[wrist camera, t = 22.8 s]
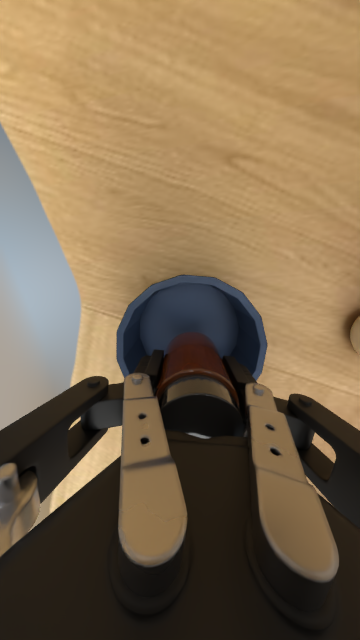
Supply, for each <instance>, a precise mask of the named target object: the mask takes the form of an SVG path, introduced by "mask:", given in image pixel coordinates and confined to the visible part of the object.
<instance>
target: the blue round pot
mask: <svg viewBox="0 0 360 640" xmlns="http://www.w3.org/2000/svg"><path fill="white" fill-rule="evenodd" d="M185 332H198V333H201V334H204V335H206V336H207V337H209V338H210V339H211V340H212V341H213V342H214V344H215V346H216V348H217V350H218V352H219V354H220V356H221V359H222V357H223V356H234V357H235V359H236V360H237V362H238V363H239V364H242V365H244V366H245V367H247V369H248V370H249V372H250V373H251V375H252V376H253V377H254V379H255V380H257V379H258V377H259V376H260V374H261V373H262V370H263V365H264V360H265V355H266V350H267V340H266V336H265V331H264V327H263V322H262V318H261V316H260V314H259V313H258V312H257V310H256V309H255V308H254V306H253V305H252V304H251V303H250V301H249V300H248V299H247V297H246V296H245V295H244V293H242V292H241V291H239V290H237V289H235V288H234V287H232V286H230V285H228V284H226V283H224V282H222V281H221V280H219V279H217V278H214V277H205V276H193V275H179V276H176V277H173V278H170V279H167V280H164V281H161V282H158V283H155V284H152V285H151V286H150V287H148V288H147V289H146V290H145V291H144V292H143V293H142V294H141V295H139V296H138V297H137V298H136V299H135V300H134V301H133V302H132V303H130V304H129V306H128V308H127V310H126V312H125V314H124V317H123V319H122V321H121V323H120V325H119V328H118V330H117V362H118V364H119V366H120V369H121V371H122V373H123V376H124V378H125V377H126V376H128V375H130V374H133V373H134V371H135V369H136V367H137V366H138V363H139V361H140V360H141V358H142V357H144V356H145V355H148V356H151V355H152V353H153V350H154V349H156V350H164V355H165V351H166V348H167V346H168V344H169V343H170V341H171V340H172V339H173V338H174V337H176V336H177V335H179V334H182V333H185Z"/></svg>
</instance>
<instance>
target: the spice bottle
mask: <svg viewBox="0 0 360 640" xmlns="http://www.w3.org/2000/svg"><path fill="white" fill-rule="evenodd" d="M154 396H157V399H158V403H159V407H160V411H161V416H162V420H163V424H164V429H165V430H168V431H180V432H183V433H186V434H190V435H193V436H196V437H199V438H204V439H205V438H213V437H220V436H237V437H242V434H243V429H244V423H245V422H244V420H243V417H242V415H241V412H240V401H239V397H238V394H237V392H236V389H235V387H234V385H233V383H232V381H231V378H230V376H229V374H228V372H227V370H226V367H225V365H224V363H223V361H222V359H221V356H220V354H219V352H218V350H217V348H216V346H215V344H214V342H213V341H212V340H211V339H210V338H209V337H207V336H206V335H204V334H201V333H198V332H185V333H182V334H179V335H177V336H176V337H174V338H173V339H172V340H171V341H170V343H169V344H168V346H167V348H166V351H165V355H164V359H163V363H162V367H161V371H160V375H159V379H158V383H157V387H156V391H155V395H154Z"/></svg>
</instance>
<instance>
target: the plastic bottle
mask: <svg viewBox="0 0 360 640" xmlns="http://www.w3.org/2000/svg"><path fill="white" fill-rule="evenodd" d="M350 340H351V343H352V345H353V348H354V349H355V351H356V352H357V353H358V354H359V355H360V316H359V317H358V318H357V319H356V320H355V322H354V323H353V325H352V327H351V331H350Z"/></svg>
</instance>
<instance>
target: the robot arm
mask: <svg viewBox="0 0 360 640" xmlns="http://www.w3.org/2000/svg"><path fill="white" fill-rule="evenodd" d="M163 359H164V350H156V349H154V350H153V353H152V355H151V356H148V355H145V356H144V357H142V358H141V360H140V361H139V363H138V366H137V367H136V369H135V371H134V373H133V374H130V375H128V376H126V377H125V379H124V382H123V383H119V384H110V385H108V379H107V378H105V377H102V376H93V377H89V378H86V379H84V380H82V381H81V382H79V383H77V384H76V385H74V386H72V387H71V388H69V389H68V390H66V391H64V392H63V393H61V394H60V395H58V396H56V397H55V398H53V399H51V400H50V401H48V402H46V403H45V404H43V405H42V406H40V407H38V408H37V409H35V410H33V411H32V412H30V413H29V414H27V415H25V416H23V417H22V418H20V419H19V420H17V421H15V422H14V423H12V424H10V425H9V426H7V427H5V428H4V429H2V430H1V431H0V640H360V431H359V430H358V429H356V428H355V427H353V426H352V425H350V424H349V423H347V422H346V421H344V420H343V419H341V418H340V417H338V416H337V415H336V414H334V413H333V412H331V411H330V410H328V409H327V408H325V407H324V406H322V405H321V404H319V403H318V402H316V401H315V400H313V399H311V398H309V397H307V396H305V395H301V394H291V395H290V396H289V400H288V401H287V400H283V399H279V398H276V397H273V394H272V391H271V390H270V389H269V388H267V387H266V386H264V385H261V384H258V383H257V382H256V380H255V379H254V377H253V376H252V375H251V373H250V372H249V370H248V369H247V367H245V366H244V365H242V364H239V363H238V362H237V360H236V359H235V357H234V356H223V357H222V361H223V363H224V365H225V367H226V370H227V372H228V374H229V376H230V378H231V381H232V383H233V385H234V387H235V389H236V392H237V394H238V397H239V401H240V412H241V415H242V417H243V420H244V422H245V423H244V429H243V434H242V437H237V436H220V437H213V438H205V439H204V438H199V437H196V436H193V435H190V434H186V433H183V432H180V431H168V430H165V429H164V424H163V420H162V416H161V411H160V407H159V403H158V399H157V396H154V395H155V391H156V387H157V383H158V379H159V375H160V371H161V367H162V363H163ZM80 416H81V420H80V421H79V422H78V423H77V424H76V425H74V426H73V427H72V428H71V429H70V430H69V428H70V426H71V425H72V423H73V422H74V421H75V420H77V419H78V418H79V417H80ZM116 426H122V447H121V456H120V457H119V458H117V459H116V460H115V461H114V462H112V463H111V464H110V465H109V466H108V467H106V468H105V469H104V470H103V471H102V472H100V473H99V474H98V475H97V476H96V477H94V478H93V479H92V480H91V481H90V482H88V483H87V484H86V485H85V486H84V487H82V488H81V489H80V490H79V491H78V492H76V493H75V494H74V495H73V496H72V497H70V498H69V499H68V500H67V501H66V502H64V503H63V504H62V505H61V506H60V507H58V508H57V509H56V510H55V511H54V512H52V513H51V514H50V515H49V516H48V517H46V518H45V519H44V520H43V521H42V522H41V523H39V524H38V525H37V526H35V527H34V528H33V529H32V530H31V531H29V530H30V529H31V527H32V526H33V524H34V523H35V521H36V519H37V517H38V515H39V512H40V504H41V503H42V502H43V501H44V500H45V499H46V497H47V496H48V495H49V494H50V493H51V492H52V491H53V490H54V489H55V488H56V487H57V486H58V484H59V483H60V482H61V481H62V480H63V479H64V478H65V477H66V476H67V475H68V473H69V472H70V471H71V470H72V469H73V468H74V467H75V466H76V465H77V464H78V463H79V461H80V460H81V459H82V458H83V457H84V456H85V455H86V454H87V453H88V452H89V451H90V449H91V448H92V447H93V446H94V445H95V444H96V443H97V442H98V441H99V440H100V439H101V437H102V436H103V435H104V434H105V433H106V432H107V430H108V428H110V427H116ZM314 433H317V434H318V435H319V436H320V437H321V438H323V439H324V440H325V441H326V442H327V443H328V444H330V445H331V446H332V448H333V449H334V451H335V453H336V461H335V463H333V462H332V461H331V460H330V459H329V458H328V457H327V456H325V455H324V454H323V453H322V452H321V451H320V450H319V449H318V448H317V447H316V446H314V445H313V444H312V440H313V436H314ZM305 475H306V476H307V477H308V478H309V479H310V480H311V482H312V483H313V484H314V485H315V486H316V487H317V488H318V489H319V491H320V492H321V493H322V494H323V495H324V496H325V497H326V498H327V500H328V501H329V502H330V503H331V504H332V505H333V506H334V507H333V506H332V505H331V504H330V503H329V502H327V501H326V500H325V499H324V498H323V497H321V496H320V495H319V494H318V493H317V492H316V490H315V488H314V487H313V486H312V485H310V484H309V483H308V481H307V479H306V476H305ZM28 531H29V532H28Z"/></svg>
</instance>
